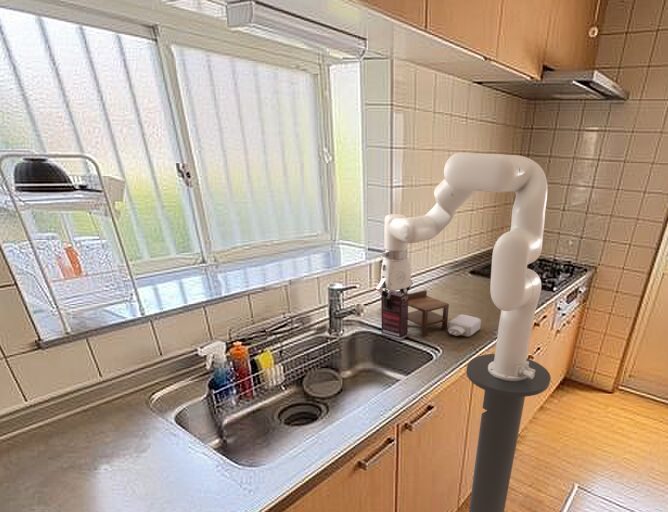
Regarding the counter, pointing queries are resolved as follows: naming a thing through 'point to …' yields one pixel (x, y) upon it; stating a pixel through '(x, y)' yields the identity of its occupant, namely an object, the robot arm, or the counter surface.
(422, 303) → the shelf rack
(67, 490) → the counter surface
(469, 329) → the charger
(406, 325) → the supplement box
